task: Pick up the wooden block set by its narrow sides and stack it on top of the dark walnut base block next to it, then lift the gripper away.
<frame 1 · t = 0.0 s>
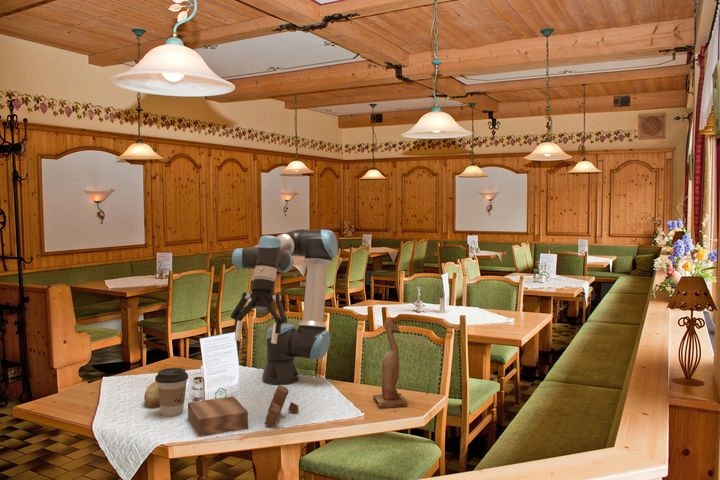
hand: (255, 342, 200), 28 cm above the table, tool tilted 20°, fingers open, 13 cm apart
bird sculpture: (389, 403, 223), on the table
coffee cup: (172, 413, 211), on the table
walnut base block: (217, 424, 201), on the table
bread roll: (160, 402, 222), on the table
wooden block set: (278, 419, 206), on the table
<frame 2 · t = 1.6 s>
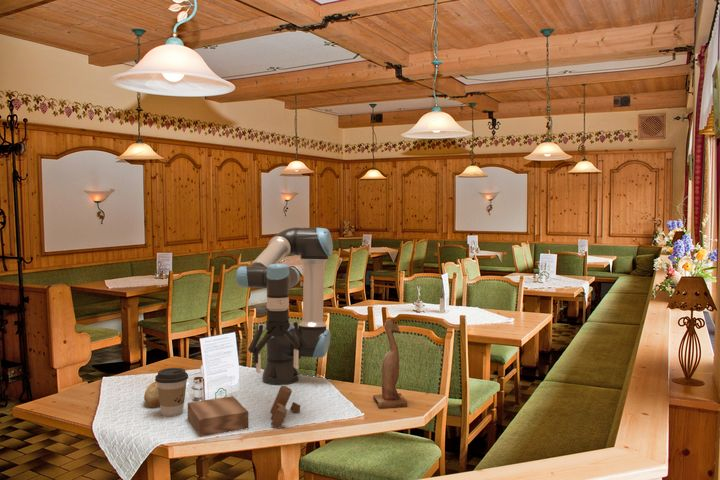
hand: (277, 370, 205), 17 cm above the table, tool pointing down, fingers open, 13 cm apart
wooden block set: (281, 419, 206), on the table
everything else where it was.
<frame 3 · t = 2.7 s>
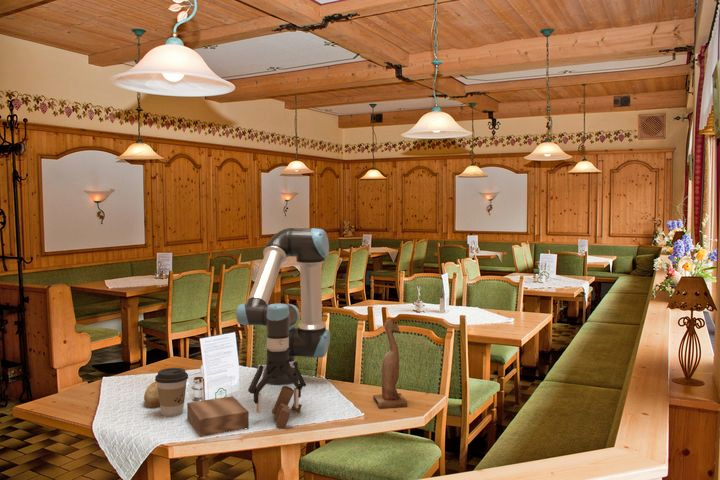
hand: (277, 409, 206), 3 cm above the table, tool pointing down, fingers open, 13 cm apart
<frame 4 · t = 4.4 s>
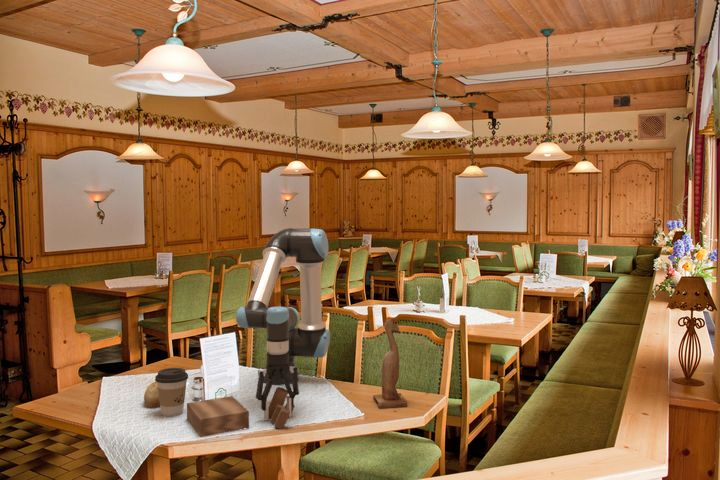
hand: (277, 417, 206), 0 cm above the table, tool pointing down, fingers closed on wooden block set, 7 cm apart
wooden block set: (279, 421, 205), on the table, touching gripper
everything else where it was.
when the fingers open (8 cm above the table, at t = 10.5 s): wooden block set drops 2 cm, point 5 cm above the table.
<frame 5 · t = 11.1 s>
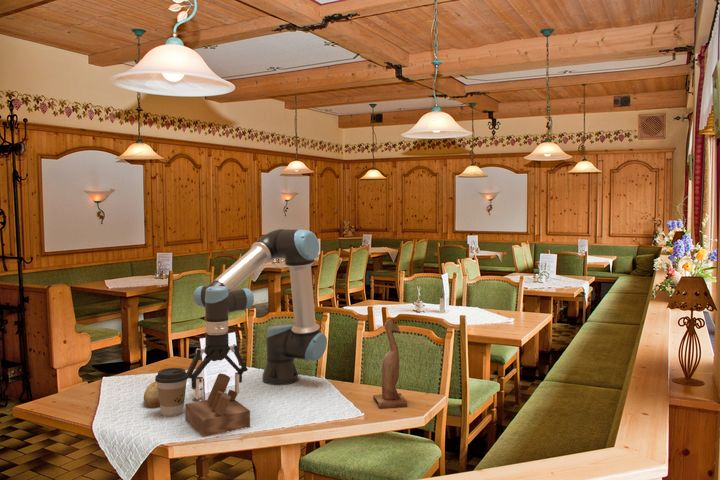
hand: (217, 395, 200), 10 cm above the table, tool pointing down, fingers open, 13 cm apart
wooden block set: (221, 408, 200), point 5 cm above the table
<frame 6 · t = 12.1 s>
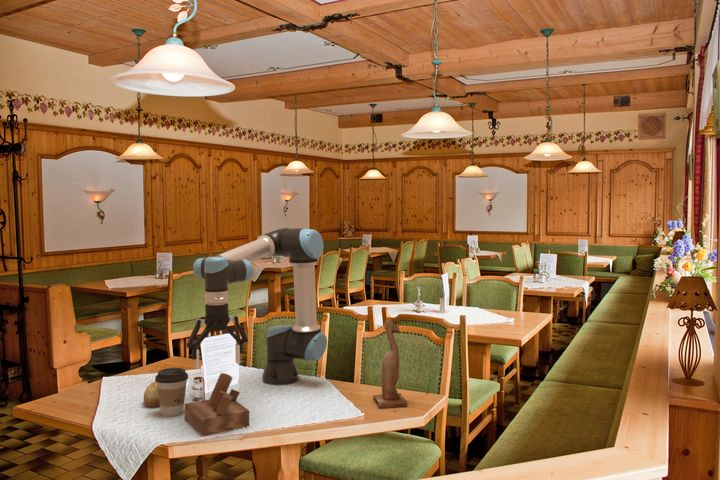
hand: (217, 365, 200), 20 cm above the table, tool pointing down, fingers open, 13 cm apart
walnut base block: (216, 424, 201), on the table, touching wooden block set
wooden block set: (223, 407, 201), point 5 cm above the table, touching walnut base block
everything else where it was.
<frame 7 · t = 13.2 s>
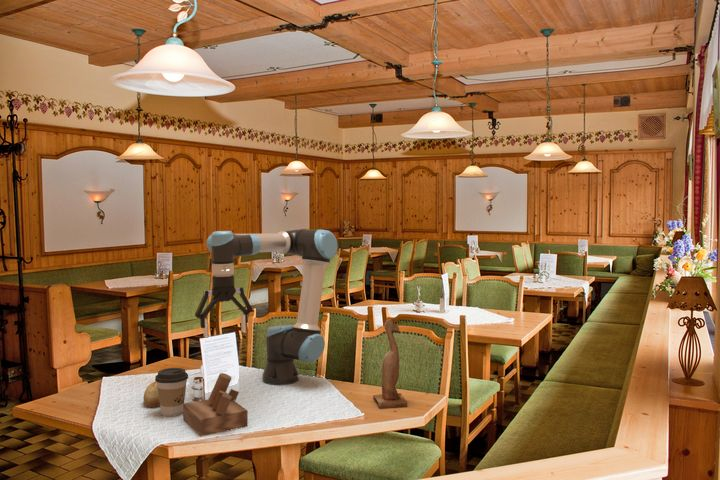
hand: (224, 334, 210), 28 cm above the table, tool pointing down, fingers open, 13 cm apart
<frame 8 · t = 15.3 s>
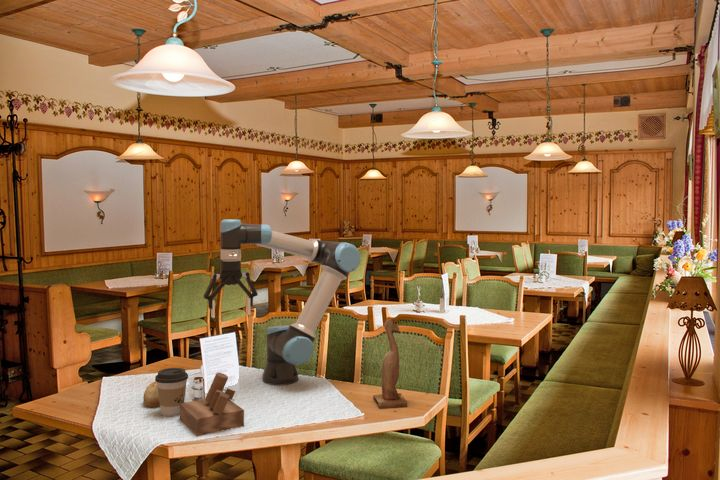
hand: (231, 316, 225), 32 cm above the table, tool pointing down, fingers open, 13 cm apart
walnut base block: (211, 423, 202), on the table, touching wooden block set
wooden block set: (219, 406, 202), point 5 cm above the table, touching walnut base block
everything else where it was.
at the end: wooden block set inside the target area on the walnut base block (2.6 cm from its centre), point 5.8 cm above the walnut base block's base; wooden block set tilted 0°; the gripper is holding nothing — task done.
